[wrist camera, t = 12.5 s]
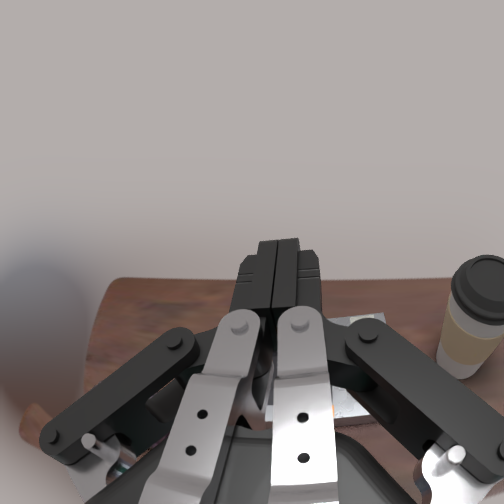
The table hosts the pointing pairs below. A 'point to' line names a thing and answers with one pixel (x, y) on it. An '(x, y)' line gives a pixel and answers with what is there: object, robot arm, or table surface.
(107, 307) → the table surface
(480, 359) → the coffee cup
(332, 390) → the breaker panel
